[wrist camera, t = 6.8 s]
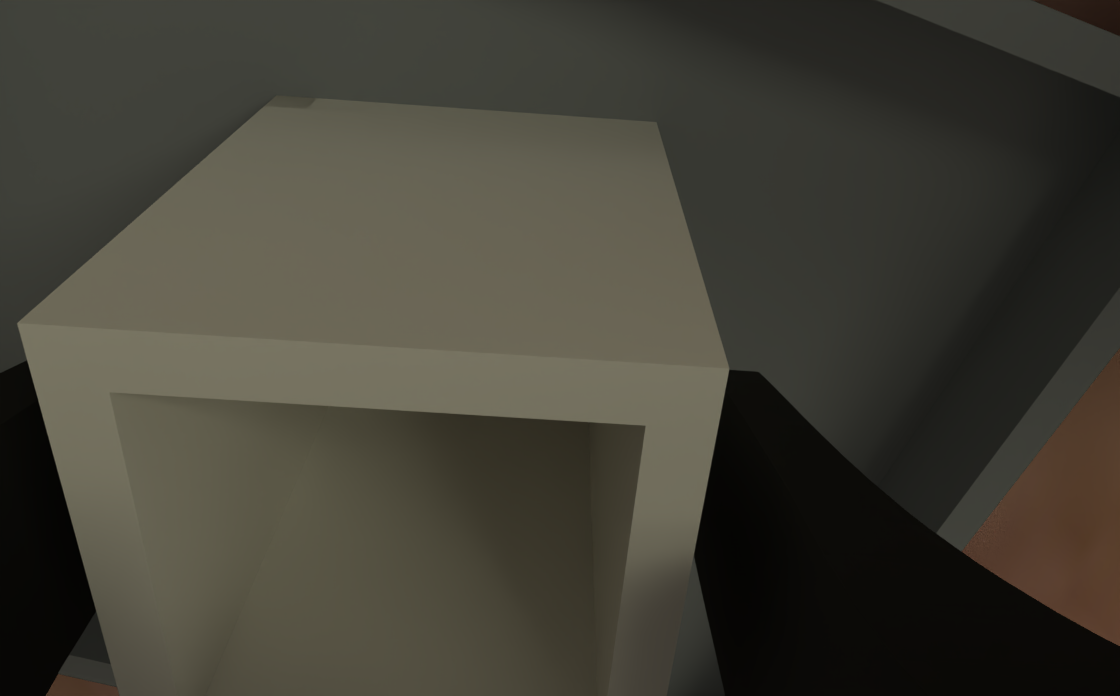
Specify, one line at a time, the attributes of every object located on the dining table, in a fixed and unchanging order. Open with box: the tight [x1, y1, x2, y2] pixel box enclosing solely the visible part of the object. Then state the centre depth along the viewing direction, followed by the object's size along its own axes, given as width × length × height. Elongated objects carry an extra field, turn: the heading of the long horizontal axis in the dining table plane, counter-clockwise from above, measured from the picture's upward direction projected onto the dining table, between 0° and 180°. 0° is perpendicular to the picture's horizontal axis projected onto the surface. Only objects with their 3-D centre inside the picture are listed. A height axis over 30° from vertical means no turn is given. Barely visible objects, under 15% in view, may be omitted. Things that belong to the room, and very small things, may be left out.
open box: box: [17, 95, 729, 696], centre depth 11 cm, size 6×6×7 cm
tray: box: [0, 0, 1120, 696], centre depth 15 cm, size 18×16×3 cm
